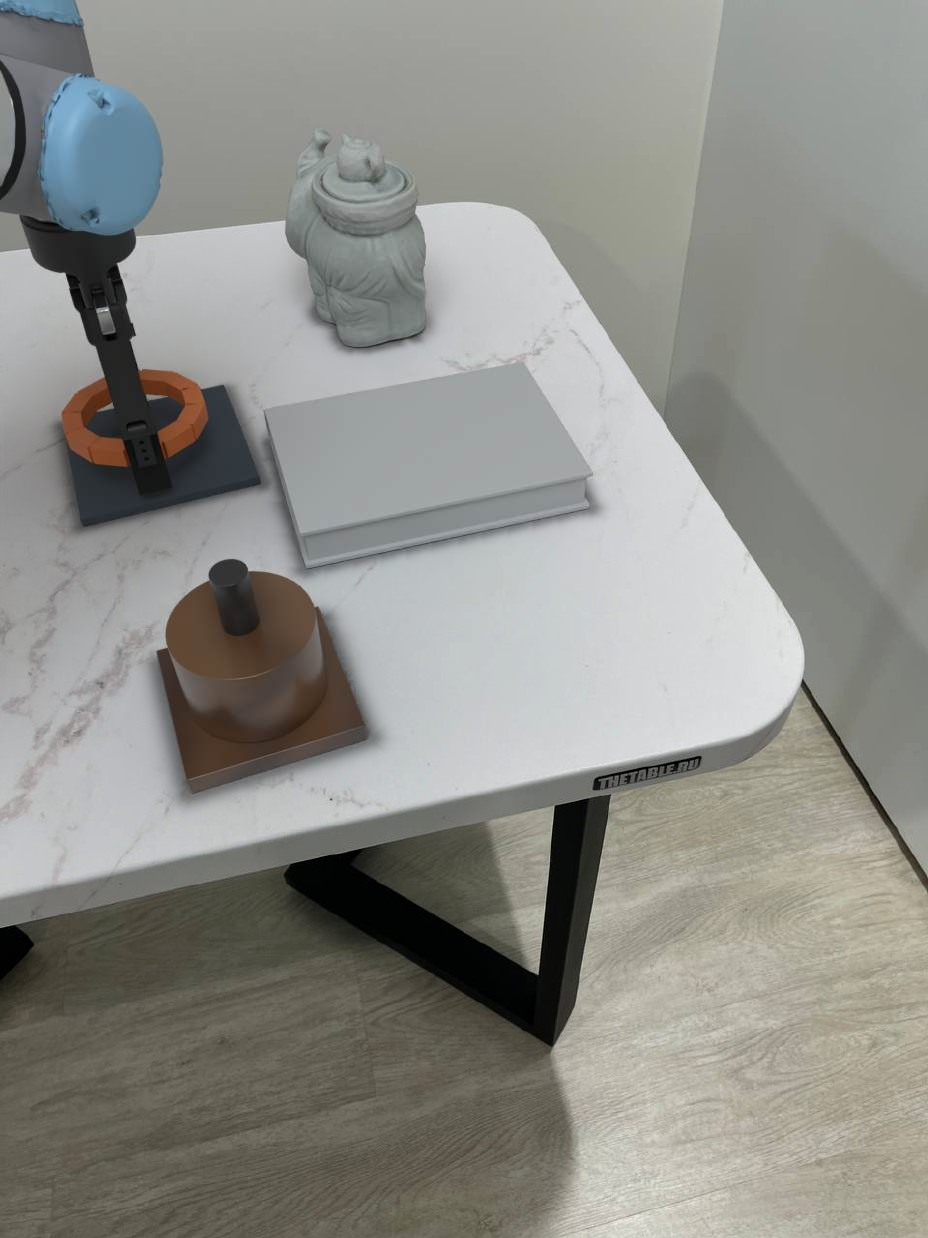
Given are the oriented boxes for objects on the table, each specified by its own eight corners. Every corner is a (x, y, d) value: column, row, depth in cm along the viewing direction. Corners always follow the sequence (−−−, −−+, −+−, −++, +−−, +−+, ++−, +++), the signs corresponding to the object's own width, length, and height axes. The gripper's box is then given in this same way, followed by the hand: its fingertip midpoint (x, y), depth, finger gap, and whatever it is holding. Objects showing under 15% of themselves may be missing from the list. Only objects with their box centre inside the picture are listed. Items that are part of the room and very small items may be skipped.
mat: (83, 526, 84) (80, 519, 83) (64, 426, 93) (61, 419, 93) (261, 483, 87) (259, 476, 87) (225, 391, 97) (223, 384, 96)
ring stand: (191, 794, 66) (144, 669, 57) (160, 664, 73) (114, 535, 64) (368, 739, 68) (350, 611, 59) (320, 619, 76) (298, 490, 67)
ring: (75, 479, 81) (69, 463, 80) (61, 401, 89) (55, 385, 88) (219, 447, 84) (215, 431, 83) (193, 373, 92) (189, 358, 90)
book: (593, 472, 82) (299, 533, 77) (589, 508, 85) (306, 569, 80) (519, 354, 94) (261, 400, 89) (518, 389, 97) (268, 436, 92)
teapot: (315, 269, 113) (292, 89, 100) (448, 278, 111) (443, 96, 98) (272, 348, 102) (239, 159, 88) (419, 360, 100) (408, 168, 87)
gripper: (150, 266, 66) (214, 520, 81) (103, 131, 81) (164, 367, 97) (30, 288, 64) (119, 543, 80) (5, 146, 79) (84, 383, 95)
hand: (144, 447), depth 88 cm, fingers closed on ring, 12 cm apart
